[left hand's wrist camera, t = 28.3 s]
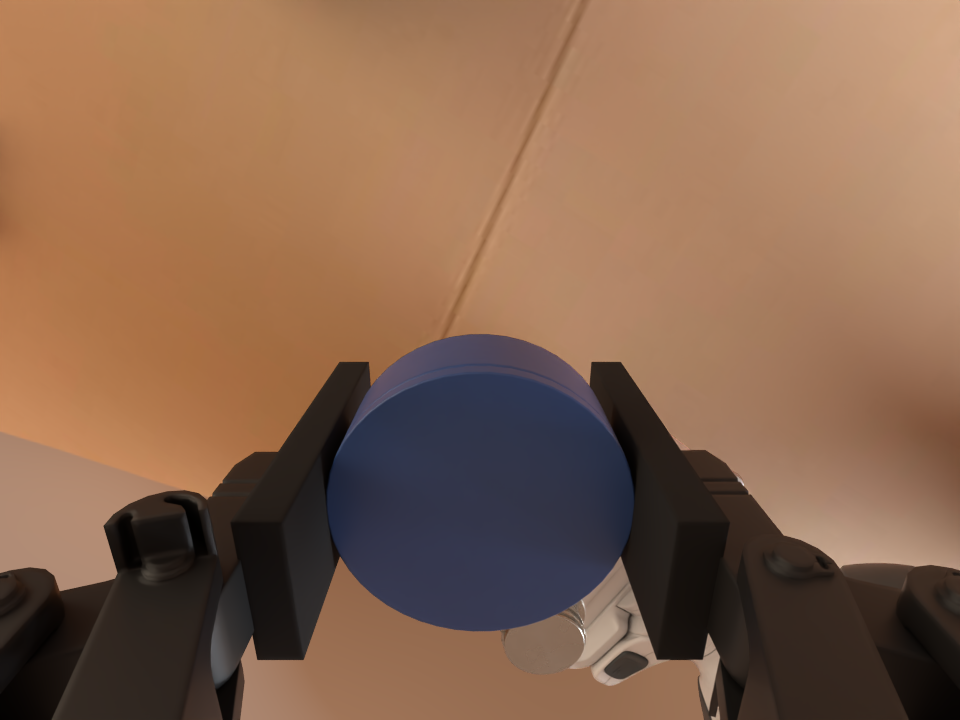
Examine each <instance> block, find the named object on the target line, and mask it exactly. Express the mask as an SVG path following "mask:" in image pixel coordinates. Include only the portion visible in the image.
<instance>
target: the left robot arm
mask: <svg viewBox="0 0 960 720" xmlns="http://www.w3.org/2000/svg"><path fill="white" fill-rule="evenodd" d="M370 388H371V385H370V372H369V362H339V364H338V365H337V367H336V368H335V370H334V371H333V373H332V374H331V375H330V377H329V378H328V380H327V381H326V383H325V384H324V386H323V387H322V389H321V390H320V392H319V393H318V394H317V396H316V397H315V399H314V400H313V402H312V403H311V405H310V406H309V408H308V409H307V411H306V412H305V413H304V415H303V416H302V418H301V419H300V421H299V422H298V424H297V425H296V427H295V428H294V430H293V431H292V432H291V434H290V435H289V437H288V438H287V440H286V441H285V443H284V444H283V446H282V447H281V449H280V450H279V452H254V453H253V454H251V455H250V456H248V457H247V458H245V459H244V460H242V461H241V462H239V463H237V464H236V465H235V466H234V467H233V468H232V469H231V471H230V472H229V473H228V475H227V476H226V477H225V478H224V480H223V483H222V484H220V485H219V486H218V487H217V488H216V490H215V491H214V492H213V495H212V497H209V498H208V500H206V499H205V498H204V497H203V496H201V495H200V494H199V493H195V492H190V491H185V490H184V491H167V492H163V493H159V494H155V495H151V496H147V497H145V498H142V499H140V500H138V501H135V502H133V503H131V504H128V505H127V506H125V507H124V508H123V509H121V510H119V511H118V512H116V513H115V514H113V516H112V517H111V518H110V519H109V520H108V521H107V523H106V524H105V525H104V529H105V533H106V536H107V539H108V542H109V546H110V549H111V553H112V556H113V559H114V562H115V566H116V569H117V573H118V574H117V576H116V578H115V579H112V580H109V581H105V582H101V583H96V584H92V585H87V586H82V587H78V588H73V589H69V590H64V591H59V588H58V586H57V583H56V580H55V577H54V575H52V574H51V573H50V572H48V571H47V570H46V569H39V568H23V569H17V570H11V571H7V572H3V573H0V720H240V716H241V707H242V699H243V690H244V674H243V668H242V663H241V657H242V655H243V653H244V651H245V649H246V647H247V645H248V643H249V641H250V638H251V636H252V635H253V640H254V645H255V650H256V655H257V660H304V657H305V654H306V651H307V648H308V646H309V643H310V640H311V637H312V634H313V632H314V629H315V626H316V623H317V620H318V617H319V614H320V612H321V609H322V606H323V603H324V600H325V597H326V594H327V592H328V589H329V586H330V583H331V580H332V577H333V574H334V572H335V569H336V566H337V563H338V560H339V557H340V555H339V553H338V550H337V548H336V546H335V544H334V542H333V539H332V535H331V532H330V528H329V523H328V515H327V506H326V489H327V483H328V478H329V473H330V470H331V467H332V464H333V461H334V458H335V456H336V454H337V452H338V450H339V448H340V446H341V443H342V441H343V439H344V437H345V435H346V433H347V431H348V429H349V427H350V425H351V423H352V421H353V419H354V417H355V414H356V412H357V410H358V408H359V406H360V404H361V403H362V401H363V399H364V397H365V395H366V393H367V392H368V390H369V389H370ZM590 388H591V389H592V390H593V392H594V394H595V396H596V397H597V399H598V401H599V403H600V404H601V406H602V408H603V411H604V413H605V415H606V417H607V419H608V421H609V423H610V425H611V427H612V429H613V431H614V433H615V435H616V437H617V439H618V441H619V444H620V446H621V448H622V450H623V452H624V454H625V457H626V459H627V462H628V464H629V467H630V470H631V474H632V479H633V484H634V493H635V501H634V510H633V519H632V526H631V531H630V535H629V539H628V541H627V543H626V546H625V548H624V550H623V553H622V555H621V559H622V562H623V565H624V568H625V571H626V574H627V576H628V579H629V582H630V585H631V588H632V591H633V593H634V596H635V599H636V602H637V605H638V608H639V611H640V613H641V616H642V619H643V622H644V625H645V628H646V631H647V633H648V636H649V639H650V642H651V645H652V648H653V651H654V653H655V656H656V659H657V660H703V657H704V652H705V647H706V642H707V637H708V633H709V635H710V637H711V639H712V641H713V643H714V646H715V648H716V650H717V652H718V654H719V656H720V658H719V663H718V668H717V673H716V677H715V682H714V687H713V691H712V696H711V701H710V707H709V714H708V716H712V717H716V714H717V710H718V706H719V715H720V720H960V570H956V569H953V568H947V567H940V566H934V565H928V566H919V567H915V568H914V569H912V570H911V571H910V572H908V573H907V576H906V578H905V581H904V584H903V587H902V589H898V588H894V587H889V586H884V585H880V584H875V583H870V582H866V581H861V580H857V579H853V578H849V577H846V576H844V575H843V573H842V571H841V570H840V569H839V567H838V566H837V564H836V563H835V562H834V560H833V559H831V558H830V557H829V556H827V555H826V554H825V553H823V552H822V551H821V550H819V549H818V548H816V547H814V546H812V545H810V544H808V543H805V542H803V541H801V540H798V539H795V538H791V537H787V536H784V535H783V534H782V533H781V532H780V531H779V529H778V528H777V527H776V526H775V524H774V523H773V522H772V521H771V519H770V518H769V517H768V516H767V514H766V513H765V512H764V511H763V509H762V508H761V507H760V506H759V504H758V503H757V502H756V501H755V499H754V498H753V497H752V496H751V495H749V494H748V491H747V489H746V488H745V487H744V486H743V484H742V483H741V482H738V478H737V477H736V476H735V474H734V473H733V472H732V471H731V469H730V468H729V467H728V466H727V464H726V463H724V462H723V461H721V460H720V459H718V458H717V457H715V456H714V455H712V454H710V453H709V452H707V451H706V450H680V448H679V447H678V445H677V444H676V442H675V441H674V439H673V438H672V436H671V435H670V433H669V432H668V431H667V429H666V428H665V426H664V425H663V423H662V422H661V420H660V419H659V417H658V416H657V414H656V413H655V411H654V410H653V409H652V407H651V406H650V404H649V403H648V401H647V400H646V398H645V397H644V395H643V394H642V392H641V391H640V390H639V388H638V387H637V385H636V384H635V382H634V381H633V379H632V378H631V376H630V375H629V373H628V372H627V371H626V369H625V368H624V366H623V365H622V363H621V362H592V364H591V376H590Z"/></svg>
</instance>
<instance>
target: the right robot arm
mask: <svg viewBox="0 0 960 720" xmlns="http://www.w3.org/2000/svg"><path fill="white" fill-rule="evenodd" d="M670 435H671V434H670ZM671 436H672V435H671ZM672 438H673V439H674V441H675V442H676V444H677V445H678V447H679V448H680V450H690V449H689V448H688V447H686V446H685V445H684V444H683V443H681V442H680V441H679V440H678V439H676V438H675V437H673V436H672ZM731 471H732V470H731ZM732 472H733V473H734V474H735V476H736V477H737V478H738V482H741V483H742V484H743V486H744V482H743V480H742V478H741V477H740V475H738V474H737V473H736V472H734V471H732ZM914 568H915V567H914V566H909V565H901V564H887V563H866V564H853V565H844V566H842V567H841V569H840V570H841V571H842V573H843V575H844V576H846V577H849V578H853V579H857V580H861V581H866V582H870V583H875V584H880V585H884V586H889V587H894V588H898V589H902V587H903V584H904V581H905V578H906V576H907V573H908V572H910V571H911V570H912V569H914ZM583 602H584V606H585V620H584V623H583V625H584V630H585V634H586V644H585V646H584V650H583V653H582V655H581V657H580V658H579V659H578V661H577V662H576V663H575V664H573V665H572V666H571V667H569V668H572V669H581V668H585V667H588V666H590V668H591V671H592V674H593V676H594V678H595V679H596V680H597V681H599V682H600V683H602V684H605V685H610V686H611V685H616V684H618V683H620V682H622V681H624V680H626V679H627V678H629V677H631V676H633V675H635V674H637V673H638V672H641V671H643V670H645V669H647V668H649V667H651V666H654V665H657V664H659V663H662V662H666V661H669V660H657V659H656V656H655V653H654V651H653V648H652V645H651V642H650V639H649V636H648V633H647V631H646V628H645V625H644V622H643V619H642V616H641V613H640V611H639V608H638V605H637V602H636V599H635V596H634V593H633V591H632V588H631V585H630V582H629V579H628V576H627V574H626V571H625V568H624V565H623V562H622V559H621V556H620V558H619V560H618V561H617V563H616V564H615V566H614V568H613V569H612V570H611V571H610V573H609V574H608V575H607V576H606V578H605V579H604V580H603V581H602V582H601V583H600V584H599V585H598V586H597V587H596V588H595V589H594V590H593V591H592V592H591V593H590V594H588V595H587V596H586V597H584V598H583ZM719 658H720V656H719V654H718V652H717V650H716V648H715V646H714V643H713V641H712V639H711V637H710V635H709V633H708V637H707V642H706V647H705V652H704V657H703V660H690V661H692V662H693V663H694V664H695V665H696V666H697V667H698V669H699V671H700V676H698V689H699V697H700V702H701V707H702V711H703V716H704V720H720V715H719V706H718V710H717V714H716V717H712V716H708V714H709V707H710V701H711V696H712V691H713V687H714V682H715V677H716V673H717V668H718V663H719Z"/></svg>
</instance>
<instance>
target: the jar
mask: <svg viewBox="0 0 960 720" xmlns="http://www.w3.org/2000/svg"><path fill="white" fill-rule="evenodd" d="M584 620H585V606H584V602H583V599H582V600H580V601H579V602H578V603H576V604H575V605H573V606H571V607H569V608H568V609H566V610H564V611H563V612H561V613H559V614H556V615H554V616H552V617H550V618H547V619H545V620H542V621H539V622H536V623H533V624H530V625H527V626H522V627H517V628H512V629H506V630H500V631H501V632H502V643H503V646H504V649H505V653H506V655H507V657H508V659H509V660H510V661H511V663H512V664H514V665H515V666H516V667H517V668H519V669H521V670H523V671H525V672H528V673H532V674H540V675H546V674H554V673H558V672H561V671H563V670H565V669H567V668H569V667H571V666H572V665H573V664H575V663H576V662H577V661H578V659H579V658H580V657H581V655H582V653H583V650H584V646H585V644H586V634H585V630H584V625H583V623H584Z"/></svg>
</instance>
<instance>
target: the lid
mask: <svg viewBox="0 0 960 720" xmlns="http://www.w3.org/2000/svg"><path fill="white" fill-rule="evenodd" d="M634 501H635V493H634V484H633V479H632V474H631V470H630V467H629V464H628V462H627V459H626V457H625V454H624V452H623V450H622V448H621V446H620V444H619V441H618V439H617V437H616V435H615V433H614V431H613V429H612V427H611V425H610V423H609V421H608V419H607V417H606V415H605V413H604V411H603V408H602V406H601V404H600V403H599V401H598V399H597V397H596V396H595V394H594V392H593V390H592V389H591V388H590V386H589V385H588V384H587V383H586V381H585V380H584V379H583V377H582V376H580V375H579V374H578V373H577V372H576V371H575V370H574V369H573V368H572V367H571V366H570V365H569V364H567V363H566V362H565V361H563V360H562V359H560V358H559V357H558V356H556V355H554V354H553V353H551V352H549V351H547V350H545V349H543V348H542V347H539V346H537V345H534V344H531V343H529V342H526V341H523V340H519V339H515V338H511V337H507V336H499V335H490V334H470V335H462V336H455V337H449V338H446V339H442V340H438V341H434V342H432V343H429V344H427V345H424V346H422V347H420V348H417V349H415V350H414V351H412V352H410V353H408V354H407V355H405V356H403V357H401V358H400V359H399V360H398V361H396V362H395V363H394V364H392V365H391V366H390V367H388V368H387V369H386V370H385V371H384V372H383V373H382V374H381V375H380V376H379V378H378V379H377V380H376V381H375V382H374V384H373V385H372V386H371V388H370V389H369V390H368V392H367V393H366V395H365V397H364V399H363V401H362V403H361V404H360V406H359V408H358V410H357V412H356V414H355V417H354V419H353V421H352V423H351V425H350V427H349V429H348V431H347V433H346V435H345V437H344V439H343V441H342V443H341V446H340V448H339V450H338V452H337V454H336V456H335V458H334V461H333V464H332V467H331V470H330V473H329V478H328V483H327V489H326V506H327V515H328V523H329V528H330V532H331V535H332V539H333V542H334V544H335V546H336V548H337V550H338V553H339V555H340V557H341V558H342V560H343V561H344V563H345V564H346V566H347V567H348V569H349V571H350V572H351V573H352V574H353V575H354V576H355V578H356V579H357V580H358V581H359V582H360V583H361V584H362V585H363V586H364V587H365V588H366V589H367V590H368V591H369V592H370V593H371V594H373V595H374V596H375V597H377V598H378V599H379V600H381V601H382V602H384V603H385V604H386V605H388V606H390V607H391V608H393V609H395V610H397V611H399V612H400V613H402V614H404V615H407V616H409V617H411V618H414V619H416V620H418V621H421V622H425V623H428V624H432V625H435V626H439V627H444V628H449V629H454V630H465V631H497V630H506V629H512V628H517V627H522V626H527V625H530V624H533V623H536V622H539V621H542V620H545V619H547V618H550V617H552V616H554V615H556V614H559V613H561V612H563V611H564V610H566V609H568V608H569V607H571V606H573V605H575V604H576V603H578V602H579V601H580V600H582V599H583V598H584V597H586V596H587V595H588V594H590V593H591V592H592V591H593V590H594V589H595V588H596V587H597V586H598V585H599V584H600V583H601V582H602V581H603V580H604V579H605V578H606V576H607V575H608V574H609V573H610V571H611V570H612V569H613V568H614V566H615V564H616V563H617V561H618V560H619V558H620V556H621V555H622V553H623V550H624V548H625V546H626V543H627V541H628V539H629V535H630V531H631V526H632V519H633V510H634Z"/></svg>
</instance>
